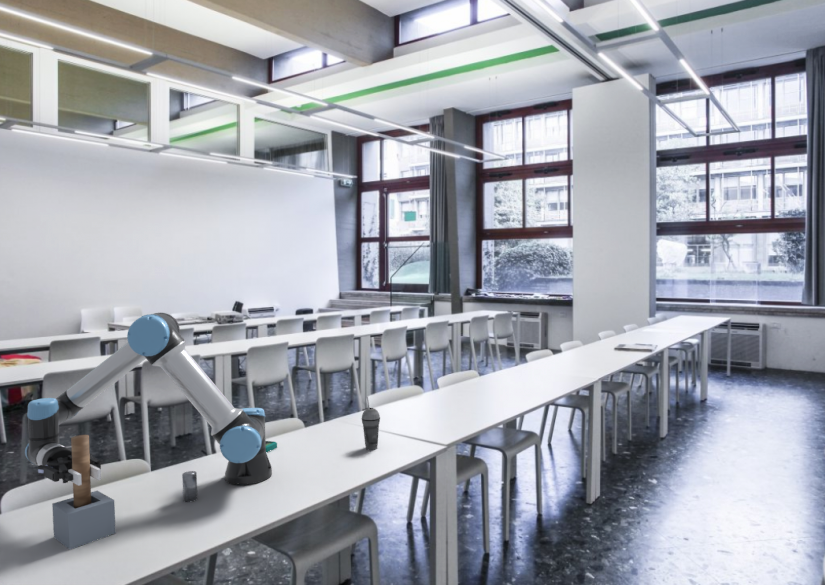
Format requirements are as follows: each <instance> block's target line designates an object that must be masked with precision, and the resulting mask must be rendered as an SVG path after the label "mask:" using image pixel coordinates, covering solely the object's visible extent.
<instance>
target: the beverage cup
mask: <svg viewBox="0 0 825 585" xmlns="http://www.w3.org/2000/svg"><path fill="white" fill-rule="evenodd" d="M366 402H367V408H365V409H364V410H363V412H362V415H361V423H362V428H363V436H364V445H365V450H368V449H369V450H370V451H373V450H377V449H378V446H379V445H378V444H379V429H380V428H379V427H380V420H381V416H380V412H379V411H378V409H376V408H374V407H370V402H369V397H368V396H366Z"/></svg>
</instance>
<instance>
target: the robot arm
mask: <svg viewBox="0 0 825 585" xmlns="http://www.w3.org/2000/svg"><path fill="white" fill-rule="evenodd" d="M180 333H181V329H180V325H179V322H178V321H177V319H176V318H175V317H174V316H173V315H170V314H169V313H167V312H155V313H151V314H144V315H141V317H140V316H139V318H137V319H136V320H134V321H133V322H132V323H131V324H130V326H129V328H128V330H127V335H126V336H127V339H126V340H127V343H125V344H124V345H123V346H121V347H120V348H119V349H117V351H115V352H113V353H112V354H111V355H110V356H109V357H107V358H106V359H105V360H104V361H102V362H101V363H100V364H99V365H97V366H95V368H93V369H92V370H91V371H89V372H88V373H87V374H86V375H85V376H83V377H81V378H80V379H79V380H78V381H77V382H75V383H74V384H73V385H72V386H70V387H69V388H68V389H66V390H65V391H64V392H63V393H61V394H60V395H58V397H56V398H53V397H44V398H38V399H33V400H31V401H29V402H28V405H27V413H26V416H27V428H28V443H27V444H26V447H25V450H24V455H25V457H26V459H27V460H28V461H29V462H30V463H31V464H33V465H34V466H37V473H38V476H40V477H44V478H46V479H48V480H50V481H52V482H54V483H55V482H56V483H57V482H59V481H60V480H62V484H66V483H67V484H68V483H69V482H71V483H72V484H73V483H75V484H76V485H78V486H79V485H82V481H81V474H80V473H78V472H76V471H74V470H72V449H71V448H69V447H66V446H64V445H62V444H60V425H61V424H63V423H65V422H66V421H68V420H71V419H72V418H74V417H75V416H77V414H79V412H80V411H81V410H83V409H84V408H85V407H86V406H88V405H89V404H90V403H92V402H93V401H94V400H95V399H96V398H98V397H99V396H100V395H101V394H102V393H104V392H106V391H107V390H108V389H109V388H110V387H112V386H113V385H114V384H116V383H117V382H118V381H120V380H121V379H122V378H123V377H125V376H126V375H127V374H128V373H130V372H131V371H132V370H134V369H135V368H136V367H137V366H138V365H140V364H141V363H143V361H145V360H147V361H148V363H149V364H150V365H151V366H152V367H160V368H161V370H163V371H164V373H165V374H166V375H167V376H168V377H169V379H170V380H171V381H172V383H174V385H175V386H176V387H177V388H178V389H179V391H180V392H181V393H182V394H183V395H184V396H185V397H186V399H187V400H188V401H189V402H190V403H191V405H192V406H193V407H194V408H195V409H196V410H197V412H198V413H199V414H200V416H201V417H203V419H204V420H205V421H206V422H207V424H208V425H210V427H211V433H210V435H211V436H212V437H213V439H214V440H215V441H216V442H217V443H218V445H219V449H220V452H221V454H222V456H223V458H225V459H226V461H228V462H227V465H226V469H225V472H224V480H225V482H226V483H228V484H231V485H237V484H241V485H242V484H245V485H252V484H256V483H257V484H258V483H260V482H264V481H266V480H268V479H270V478H271V477H272V476H273V467H272V465H271V462H270V460H269V457H268V454H267V453H266V441H267V439H266V421H265V420H266V413H265V409H264V408H261V407H246V408H245V407H244V408H235V407H234V405H233V404H232V403H231V401H229V399H228V398H227V397H226V396H225V395H224V394H223V393H222V391H221V390H220V389H219V387H218V386H217V385H216V384H215V383H214V382H213V380H212V379H211V378H210V377H209V376H208V375H207V373H206V372H205V371H204V369H203V368H202V367H201V366H200V365H199V364H198V363H197V361H196V360H195V359H194V357H192V355H191V354H190V353H189V351H187V349H186V340H185V339H184V337H183V336H182V335H181V334H180ZM101 464H102V463H101V460H100V459H98V458H96V457H94V456H93V454H92V453H90V478H94V480H96V481H100V480H102V466H101ZM241 485H240V486H241Z"/></svg>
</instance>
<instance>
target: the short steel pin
mask: <svg viewBox="0 0 825 585" xmlns="http://www.w3.org/2000/svg"><path fill="white" fill-rule="evenodd" d="M181 475H182V501H183V502H184V501H185V503H191V502H190V501H192V502H195V501H197V500H196V499H198V479H197V471H194V470H188V471H186V472H185V471H184V472H183V473H182V474H181ZM194 500H195V501H194Z"/></svg>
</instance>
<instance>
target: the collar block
mask: <svg viewBox="0 0 825 585" xmlns="http://www.w3.org/2000/svg"><path fill="white" fill-rule="evenodd" d="M51 506H52V523H53V525H52V526H53V538H54V539H55V540H57V541H58V542H59V543H60V544H62V545H63V546H64V547H65V548H66V549H68V550H72V549H76V548H78V546H79V547H81V545H82V546H84V544H85V545H87V544H90V543H92V541H93V542H95V541H98V540H97V539H99V540H101V539H100V538H102V539H104V538H107V537H109V536H108V535H110V536H112V535H111V534H113V535H115V534H114V533H117V532H116V530H117V529H116V510H115V506H116V505H115V499H113V498H112V497H109V496H108V495H106V494H105V493H103V492H101V491H99V490H94V491H91V504H89V505H85V506H82V507H79V508H74V500H73V497H70V498H67V499H63V500H60V501H57V502H53V503H52V505H51ZM106 536H107V537H106ZM103 537H104V538H103Z"/></svg>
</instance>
